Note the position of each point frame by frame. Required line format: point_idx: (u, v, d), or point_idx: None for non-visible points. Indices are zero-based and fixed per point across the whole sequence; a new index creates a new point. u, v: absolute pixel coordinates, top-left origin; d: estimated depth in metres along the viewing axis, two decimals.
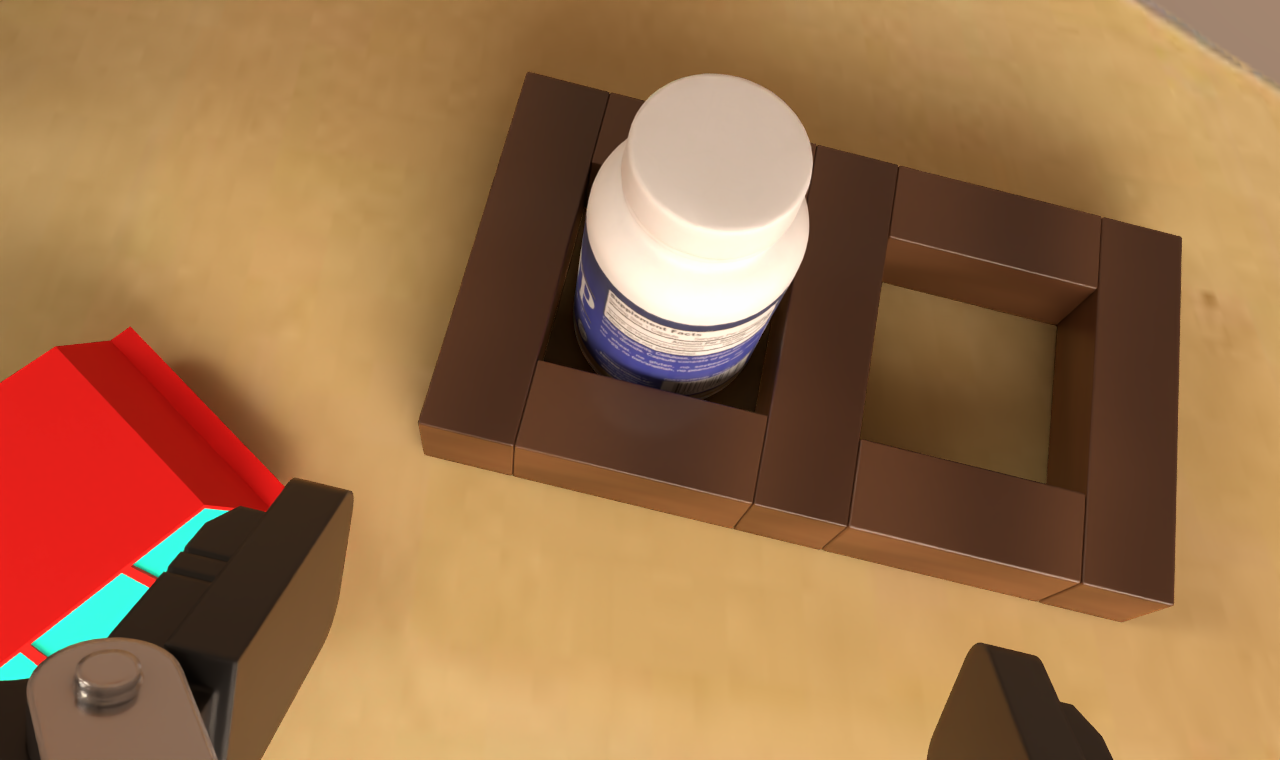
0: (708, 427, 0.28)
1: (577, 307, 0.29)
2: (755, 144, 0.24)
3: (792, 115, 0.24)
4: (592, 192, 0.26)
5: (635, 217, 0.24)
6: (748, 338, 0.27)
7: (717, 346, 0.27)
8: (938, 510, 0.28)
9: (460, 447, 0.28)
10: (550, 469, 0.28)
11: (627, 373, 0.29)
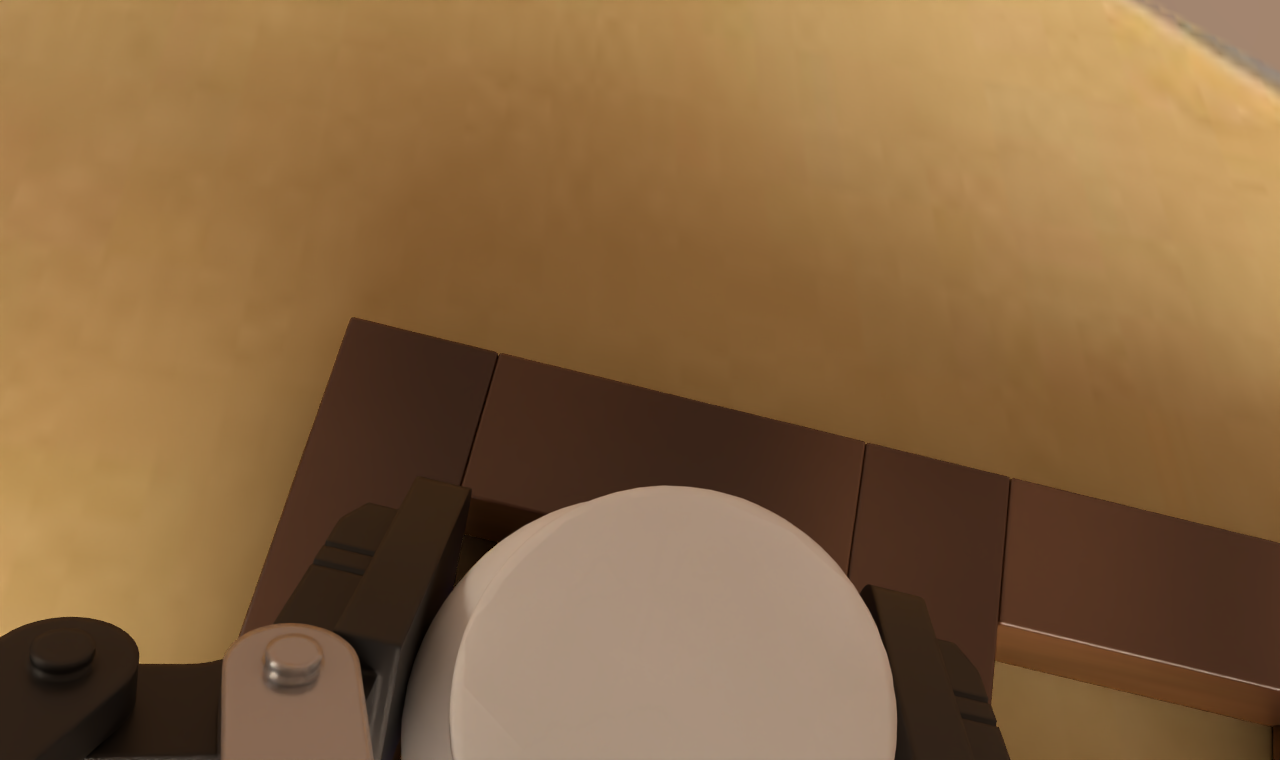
0: None
1: None
2: (761, 681, 0.10)
3: (847, 593, 0.10)
4: (410, 687, 0.12)
5: None
6: None
7: None
8: None
9: None
10: None
11: None
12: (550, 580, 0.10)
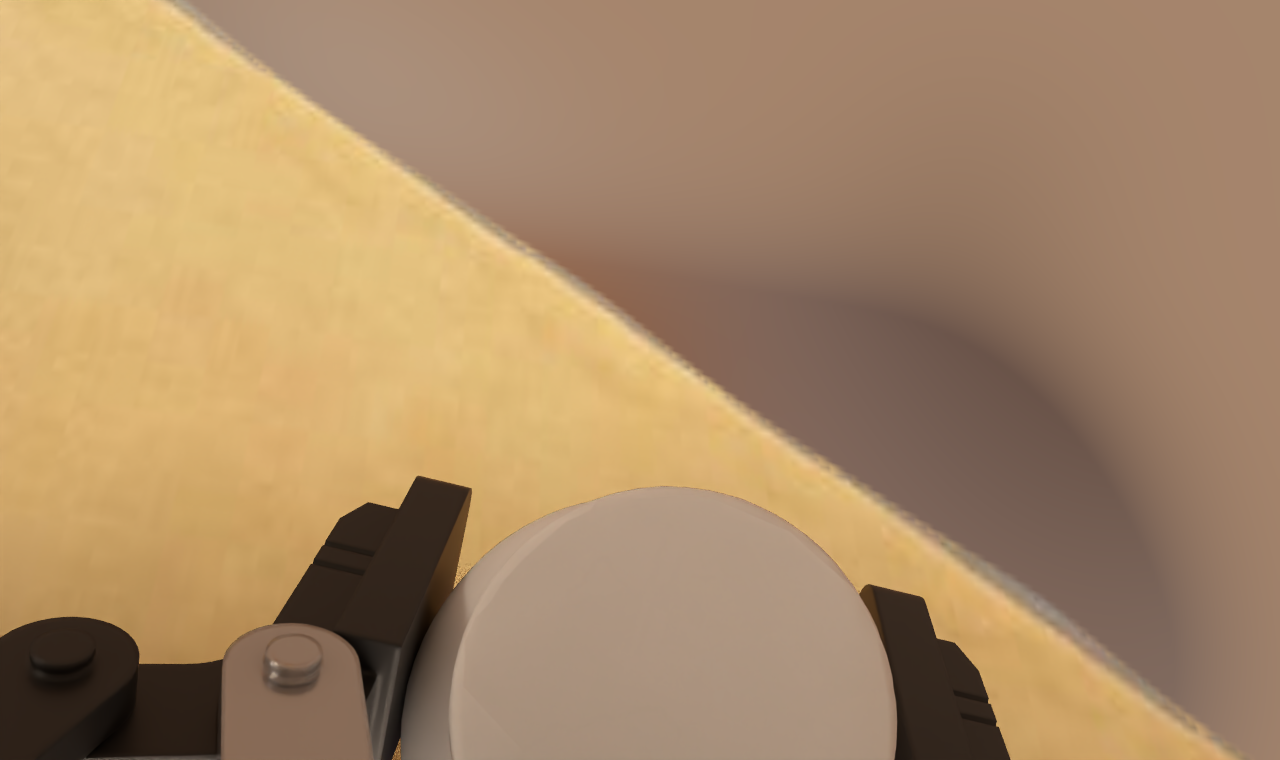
0: None
1: None
2: (761, 683, 0.10)
3: (847, 593, 0.10)
4: (410, 688, 0.12)
5: None
6: None
7: None
8: None
9: None
10: None
11: None
12: (550, 581, 0.10)
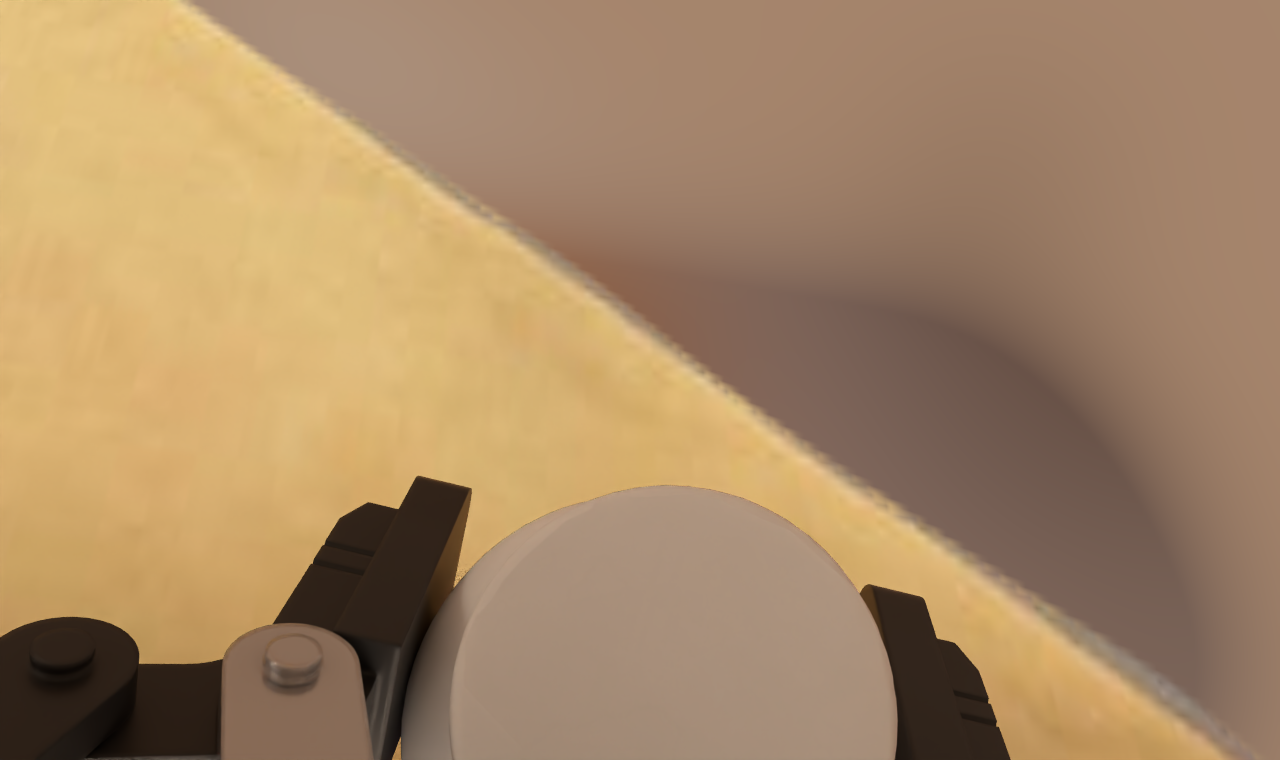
0: None
1: None
2: (761, 681, 0.10)
3: (847, 593, 0.10)
4: (410, 687, 0.12)
5: None
6: None
7: None
8: None
9: None
10: None
11: None
12: (550, 580, 0.10)
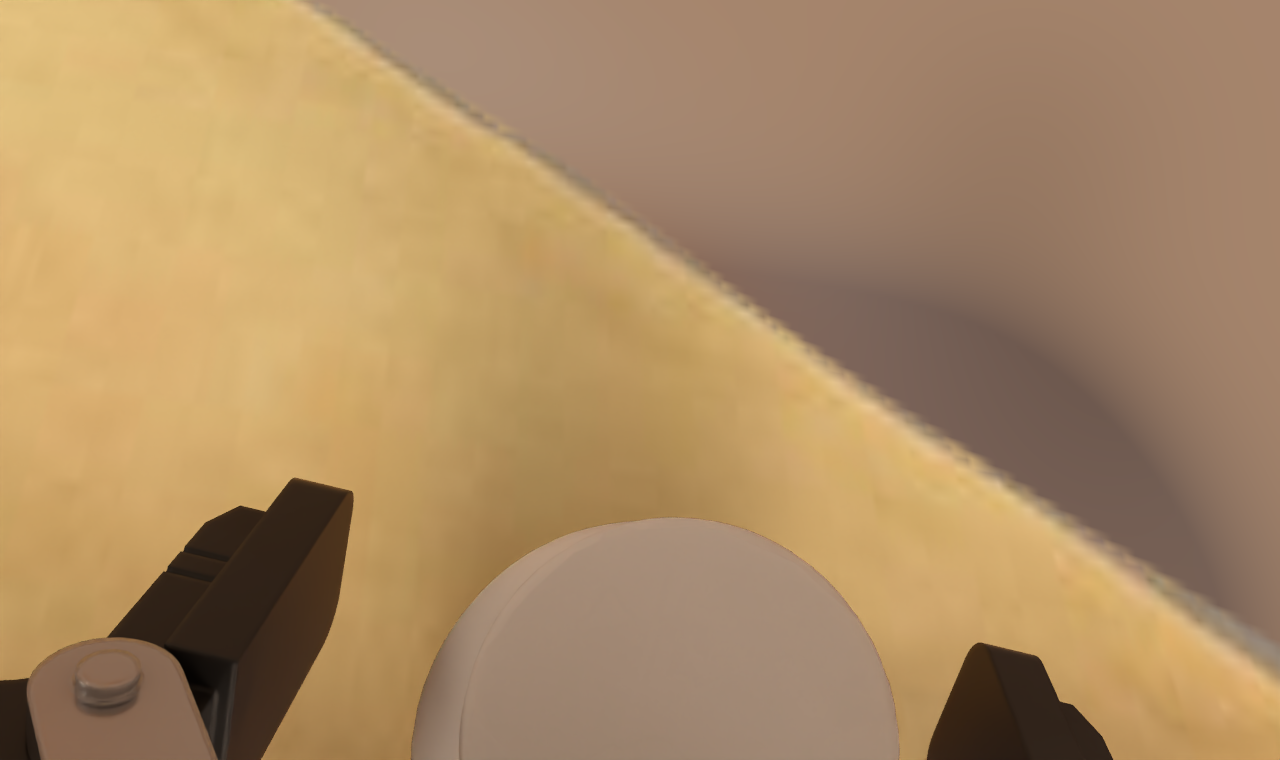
0: None
1: None
2: (765, 711, 0.10)
3: (850, 622, 0.10)
4: (420, 711, 0.12)
5: None
6: None
7: None
8: None
9: None
10: None
11: None
12: (558, 612, 0.10)
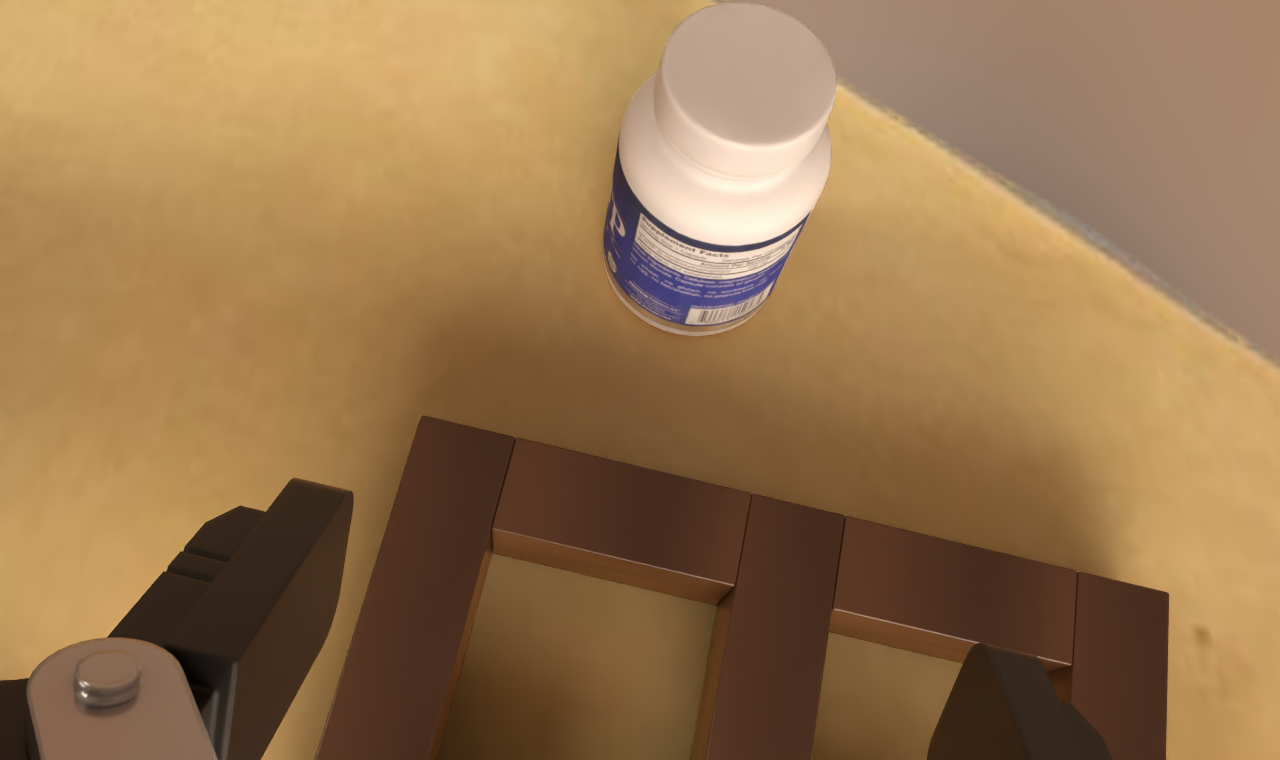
0: None
1: (607, 239, 0.31)
2: (781, 67, 0.25)
3: (816, 40, 0.25)
4: (624, 119, 0.27)
5: (667, 138, 0.25)
6: (772, 263, 0.28)
7: (744, 269, 0.28)
8: None
9: None
10: None
11: (655, 302, 0.30)
12: (697, 29, 0.25)
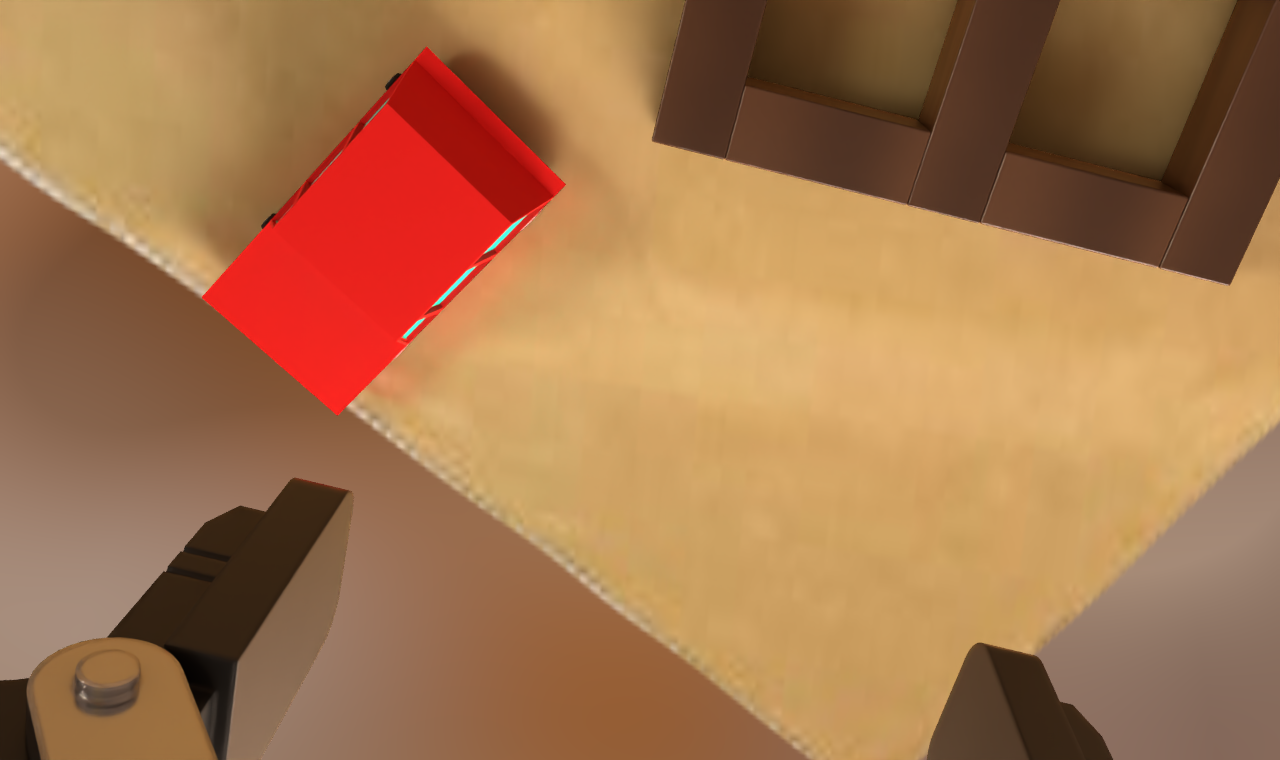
0: (880, 143, 0.35)
1: None
2: None
3: None
4: None
5: None
6: None
7: None
8: (1057, 211, 0.35)
9: None
10: None
11: None
12: None
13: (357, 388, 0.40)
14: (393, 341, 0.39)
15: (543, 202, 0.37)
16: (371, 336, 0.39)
